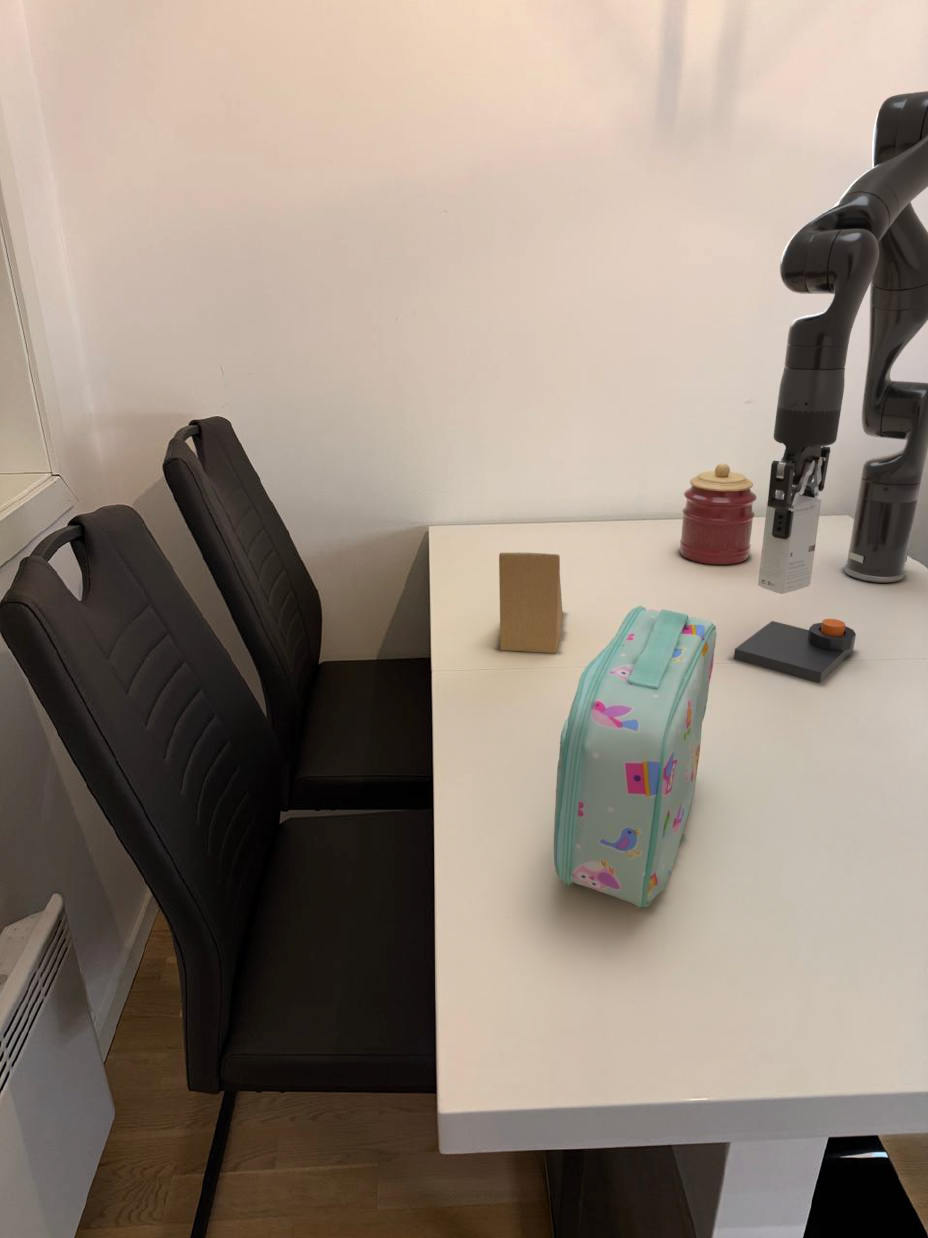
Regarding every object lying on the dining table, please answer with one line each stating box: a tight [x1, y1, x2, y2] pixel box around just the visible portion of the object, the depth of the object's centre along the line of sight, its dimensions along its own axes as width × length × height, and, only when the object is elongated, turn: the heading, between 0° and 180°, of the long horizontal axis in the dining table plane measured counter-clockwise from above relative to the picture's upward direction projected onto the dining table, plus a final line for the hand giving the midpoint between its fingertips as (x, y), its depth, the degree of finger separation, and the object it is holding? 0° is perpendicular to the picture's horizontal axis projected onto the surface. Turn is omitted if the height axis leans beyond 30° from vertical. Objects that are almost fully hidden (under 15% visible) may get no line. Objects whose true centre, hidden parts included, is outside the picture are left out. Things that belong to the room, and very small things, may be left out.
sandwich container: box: [498, 552, 564, 654], centre depth 126 cm, size 9×15×15 cm, turn 170°
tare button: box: [821, 618, 846, 636], centre depth 118 cm, size 3×3×2 cm
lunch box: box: [553, 605, 718, 908], centre depth 79 cm, size 27×10×21 cm, turn 157°
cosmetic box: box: [757, 495, 822, 595], centre depth 112 cm, size 6×4×12 cm
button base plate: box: [733, 620, 857, 684], centre depth 118 cm, size 13×12×4 cm
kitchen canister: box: [679, 462, 757, 565], centre depth 157 cm, size 13×13×18 cm
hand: (791, 531), depth 112 cm, fingers closed on cosmetic box, 6 cm apart
